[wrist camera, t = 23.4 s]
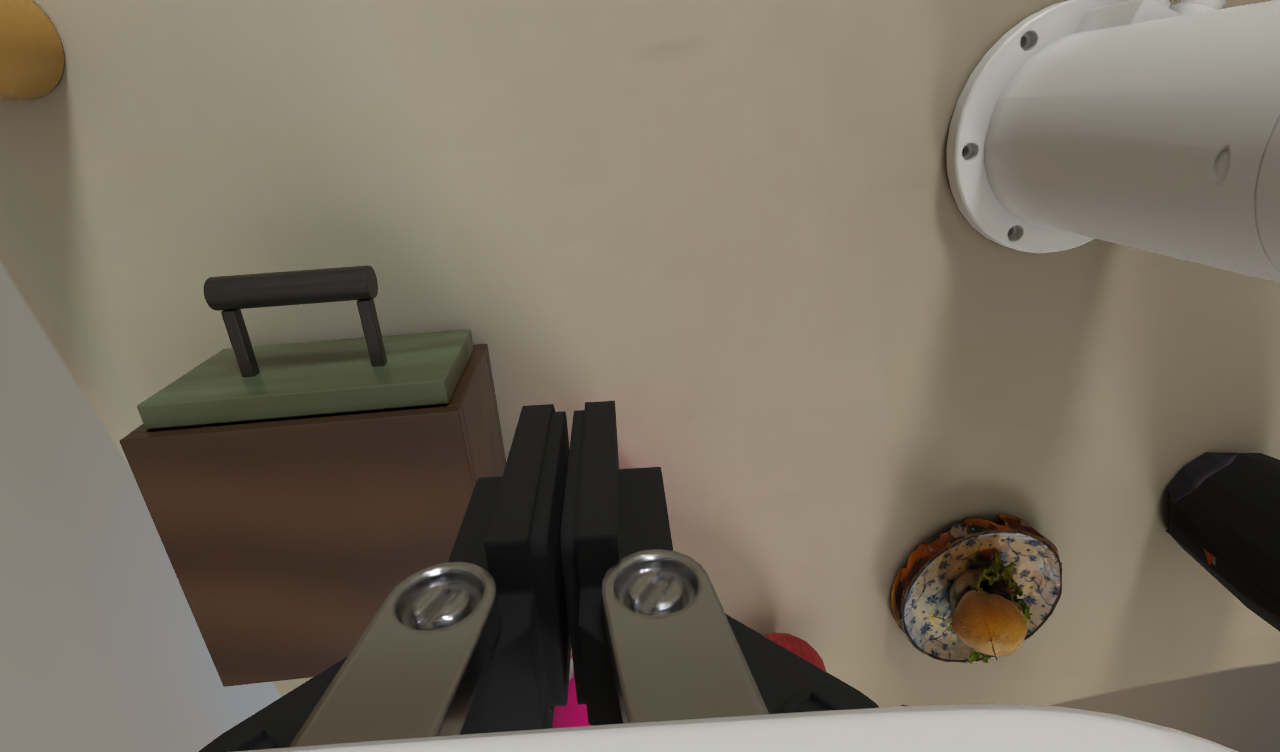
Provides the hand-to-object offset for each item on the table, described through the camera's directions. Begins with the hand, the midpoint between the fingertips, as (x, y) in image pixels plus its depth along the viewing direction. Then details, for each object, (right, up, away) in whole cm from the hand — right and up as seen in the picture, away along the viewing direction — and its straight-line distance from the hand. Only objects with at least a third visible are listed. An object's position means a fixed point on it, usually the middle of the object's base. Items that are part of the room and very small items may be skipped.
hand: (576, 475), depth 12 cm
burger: (+25, -13, +34) cm, 44 cm away
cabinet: (-14, -4, +27) cm, 31 cm away
